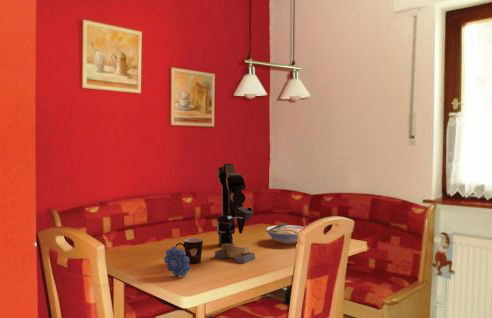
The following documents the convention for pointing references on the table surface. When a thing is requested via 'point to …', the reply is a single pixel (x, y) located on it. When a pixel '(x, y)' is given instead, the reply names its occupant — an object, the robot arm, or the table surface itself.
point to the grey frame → (238, 257)
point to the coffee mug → (193, 249)
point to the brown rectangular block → (234, 250)
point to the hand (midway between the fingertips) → (234, 235)
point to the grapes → (177, 261)
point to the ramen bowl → (284, 233)
